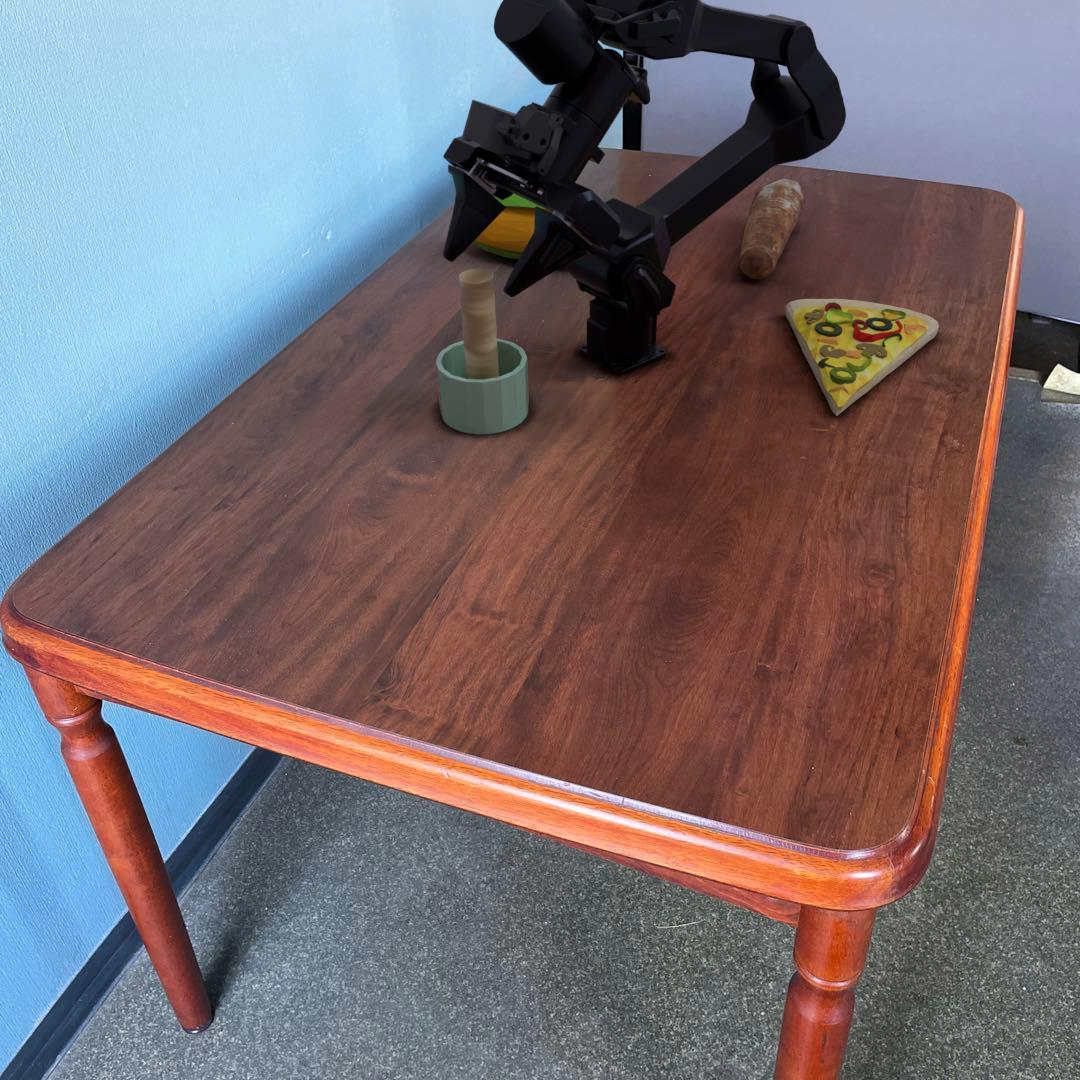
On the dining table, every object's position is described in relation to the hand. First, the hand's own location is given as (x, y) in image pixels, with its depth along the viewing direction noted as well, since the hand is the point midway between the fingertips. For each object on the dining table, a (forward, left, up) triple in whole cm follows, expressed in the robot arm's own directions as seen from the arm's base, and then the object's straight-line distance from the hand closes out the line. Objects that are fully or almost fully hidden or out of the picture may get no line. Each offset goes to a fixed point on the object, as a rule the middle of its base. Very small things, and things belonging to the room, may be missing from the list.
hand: (476, 276), depth 93 cm
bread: (-47, -8, -14) cm, 50 cm away
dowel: (0, 0, -13) cm, 13 cm away
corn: (-25, -24, -14) cm, 37 cm away
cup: (0, 0, -14) cm, 14 cm away
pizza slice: (-33, +16, -14) cm, 39 cm away
